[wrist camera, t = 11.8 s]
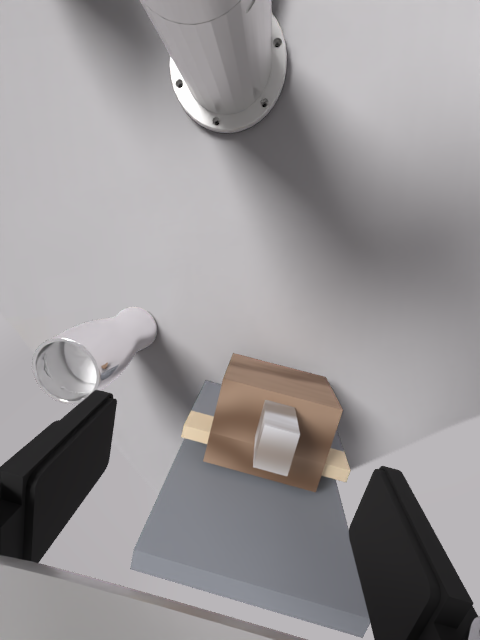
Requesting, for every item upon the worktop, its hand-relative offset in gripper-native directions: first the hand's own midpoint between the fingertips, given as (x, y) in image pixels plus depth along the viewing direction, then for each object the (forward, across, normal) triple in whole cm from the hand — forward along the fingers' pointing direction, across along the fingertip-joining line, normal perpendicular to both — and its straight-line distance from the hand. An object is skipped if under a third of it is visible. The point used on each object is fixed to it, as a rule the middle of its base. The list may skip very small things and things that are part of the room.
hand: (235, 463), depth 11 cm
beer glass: (+30, +16, +8) cm, 35 cm away
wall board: (+30, -4, +16) cm, 34 cm away
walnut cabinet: (+27, -4, +12) cm, 30 cm away
